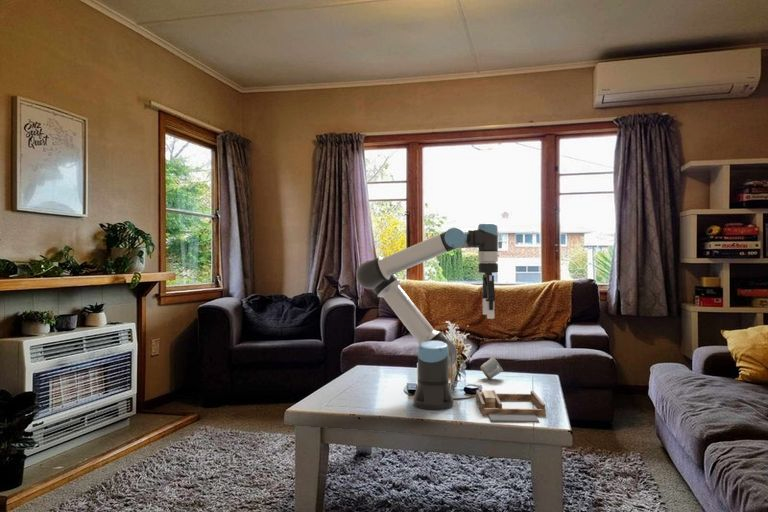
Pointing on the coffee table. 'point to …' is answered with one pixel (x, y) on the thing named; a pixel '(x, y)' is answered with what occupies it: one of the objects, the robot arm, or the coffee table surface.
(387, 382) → the coffee table surface
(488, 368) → the ceramic mug
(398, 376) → the coffee table surface
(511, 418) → the mat
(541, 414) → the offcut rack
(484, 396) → the offcut stack
